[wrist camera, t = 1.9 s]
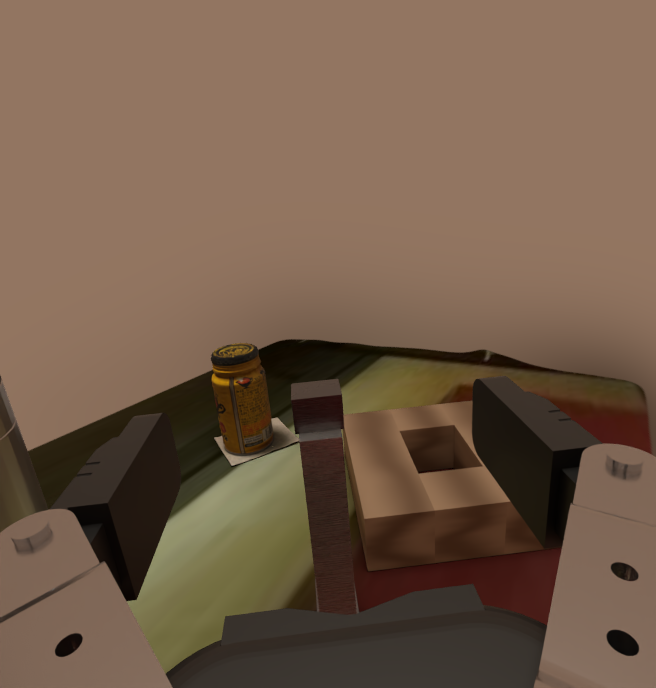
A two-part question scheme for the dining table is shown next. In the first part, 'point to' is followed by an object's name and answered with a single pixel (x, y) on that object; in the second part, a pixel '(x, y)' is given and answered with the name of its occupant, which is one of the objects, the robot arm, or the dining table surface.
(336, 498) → the metal bar
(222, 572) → the dining table surface
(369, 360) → the dining table surface
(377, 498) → the tongs holder
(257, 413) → the condiment
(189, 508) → the dining table surface
